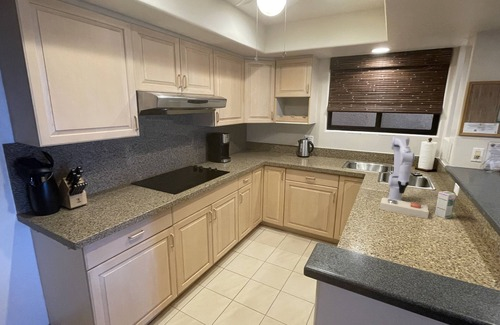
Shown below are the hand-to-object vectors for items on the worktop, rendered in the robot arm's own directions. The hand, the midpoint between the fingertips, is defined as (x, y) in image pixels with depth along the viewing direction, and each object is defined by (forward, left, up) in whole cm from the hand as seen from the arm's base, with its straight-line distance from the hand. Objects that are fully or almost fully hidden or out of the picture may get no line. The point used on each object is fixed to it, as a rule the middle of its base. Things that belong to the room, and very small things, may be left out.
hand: (401, 193), depth 151 cm
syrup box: (0, +22, -10) cm, 24 cm away
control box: (+4, +2, -9) cm, 10 cm away
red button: (+4, +8, -9) cm, 12 cm away
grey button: (+4, -4, -9) cm, 11 cm away
